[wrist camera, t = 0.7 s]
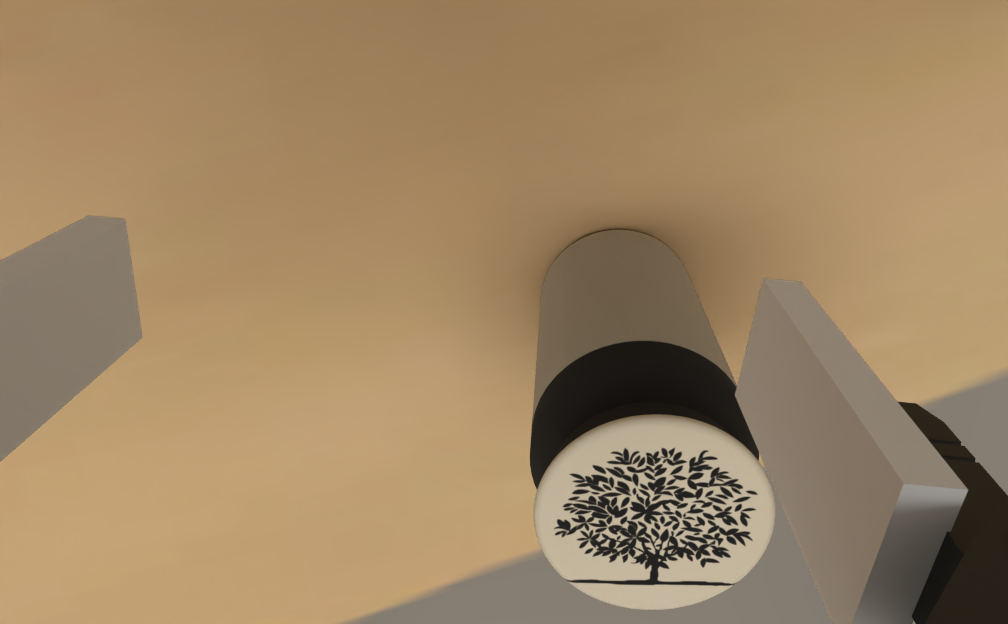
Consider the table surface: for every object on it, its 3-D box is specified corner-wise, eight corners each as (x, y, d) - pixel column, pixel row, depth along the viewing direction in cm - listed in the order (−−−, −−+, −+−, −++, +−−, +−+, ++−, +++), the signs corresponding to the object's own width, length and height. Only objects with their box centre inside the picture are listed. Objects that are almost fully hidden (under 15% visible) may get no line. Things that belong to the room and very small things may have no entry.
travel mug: (550, 218, 38) (541, 397, 21) (705, 237, 38) (816, 431, 21) (533, 355, 41) (513, 601, 25) (675, 373, 41) (750, 633, 24)
